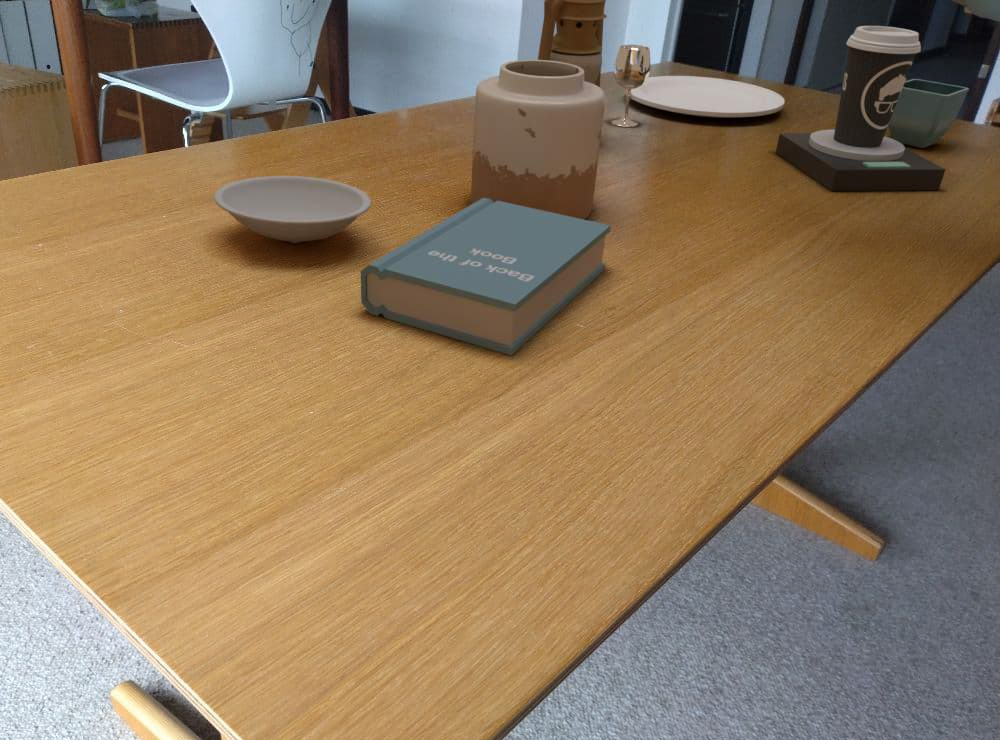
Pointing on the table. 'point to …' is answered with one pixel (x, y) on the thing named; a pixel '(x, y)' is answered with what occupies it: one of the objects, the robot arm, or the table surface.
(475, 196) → the vase
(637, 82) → the wineglass
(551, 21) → the lantern
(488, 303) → the book
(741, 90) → the plate
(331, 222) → the dish
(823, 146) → the scale
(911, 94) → the flower pot
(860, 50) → the coffee cup
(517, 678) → the table surface
